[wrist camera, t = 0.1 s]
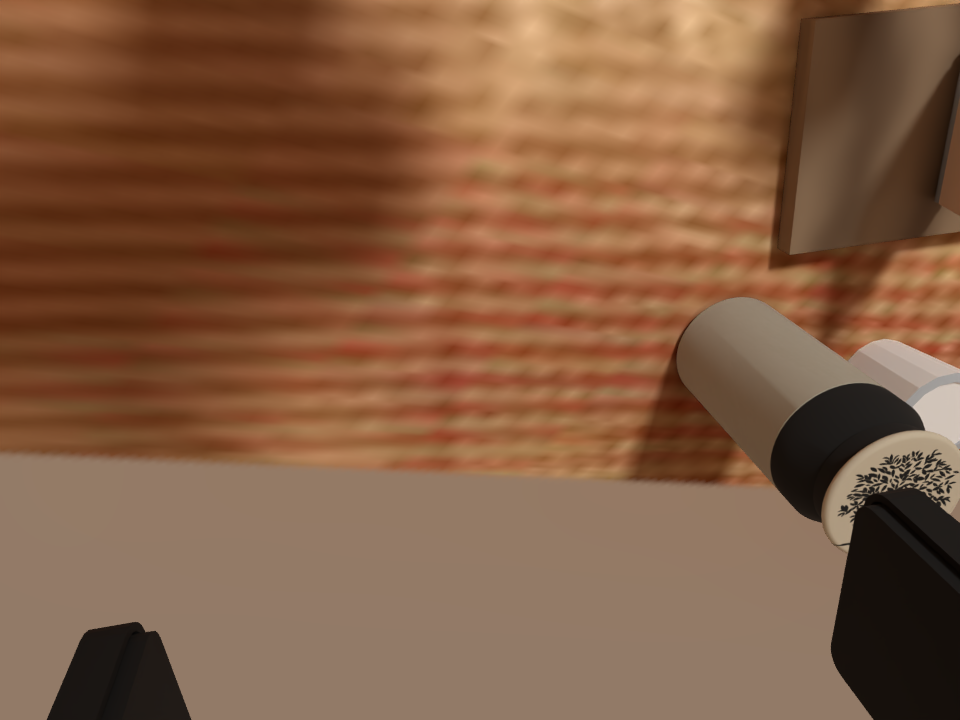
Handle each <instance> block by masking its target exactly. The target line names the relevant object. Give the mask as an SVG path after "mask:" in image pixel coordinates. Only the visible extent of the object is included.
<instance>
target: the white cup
mask: <svg viewBox="0 0 960 720" xmlns="http://www.w3.org/2000/svg"><path fill="white" fill-rule="evenodd" d="M848 362H849V363H851V364H852V365H854V366H855V367H856V368H858V369H859V370H861V371H862V372H863V373H865V374H866V375H868V376H869V377H870V378H872V379H873V380H875V381H876V382H878V383H879V384H880V385H882V386H883V387H885V388H886V389H887V390H889V391H890V392H892V393H893V394H895V395H896V396H897V397H899V398H900V399H902V400H903V401H904V402H906V403H907V404H909V405H910V406H911V407H912V408H914V409H915V411H916V412H917V413H918V414H919V416H920V417H921V420H922V422H923V425H924V428H925V431H930V432H934V433H937V434H940V435H942V436H944V437H946V438H948V439H949V440H950V441H952V442H953V443H954V444H955V445H956V446H957V448H958V449H960V369H958V368H956V367H954V366H951V365H949V364H947V363H945V362H943V361H940V360H938V359H936V358H934V357H932V356H929V355H927V354H925V353H923V352H921V351H918V350H916V349H914V348H912V347H910V346H907V345H905V344H903V343H901V342H899V341H894V340H889V339H883V340H878V341H874V342H871V343H869V344H867V345H866V346H864V347H862V348H860V349H859V350H858V351H857V352H856V353H855V354H854V355H853V356H852V357H851V358H850V359H849V360H848Z"/></svg>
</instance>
